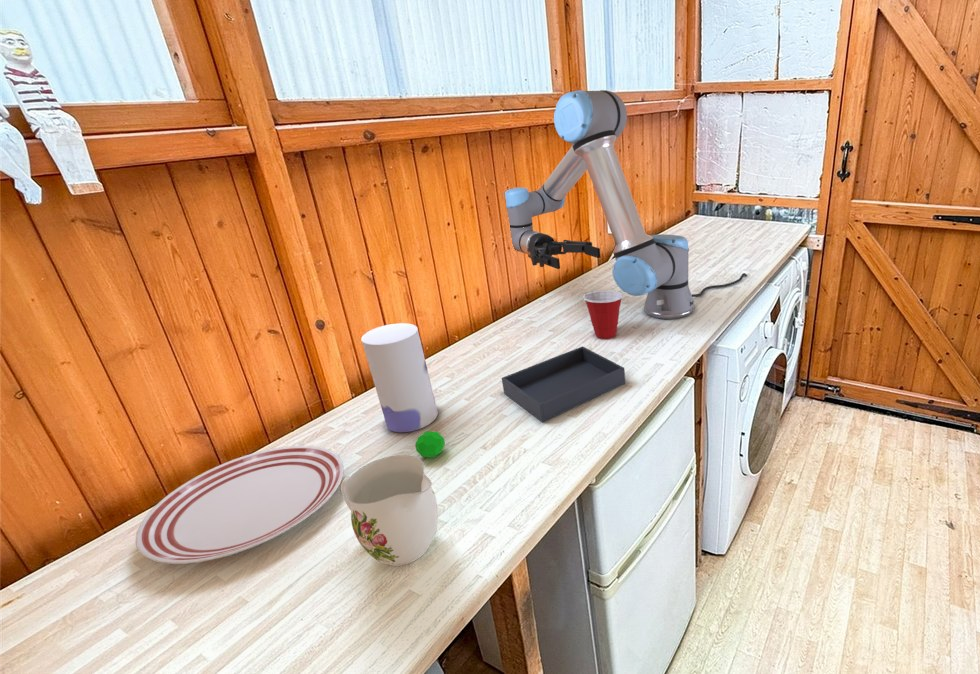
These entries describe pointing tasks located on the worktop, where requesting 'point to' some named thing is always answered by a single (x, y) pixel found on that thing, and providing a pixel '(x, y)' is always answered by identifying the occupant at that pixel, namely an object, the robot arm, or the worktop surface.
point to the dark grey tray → (563, 382)
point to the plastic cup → (604, 312)
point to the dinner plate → (239, 504)
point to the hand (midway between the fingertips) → (579, 258)
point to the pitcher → (392, 508)
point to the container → (400, 376)
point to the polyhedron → (429, 444)
